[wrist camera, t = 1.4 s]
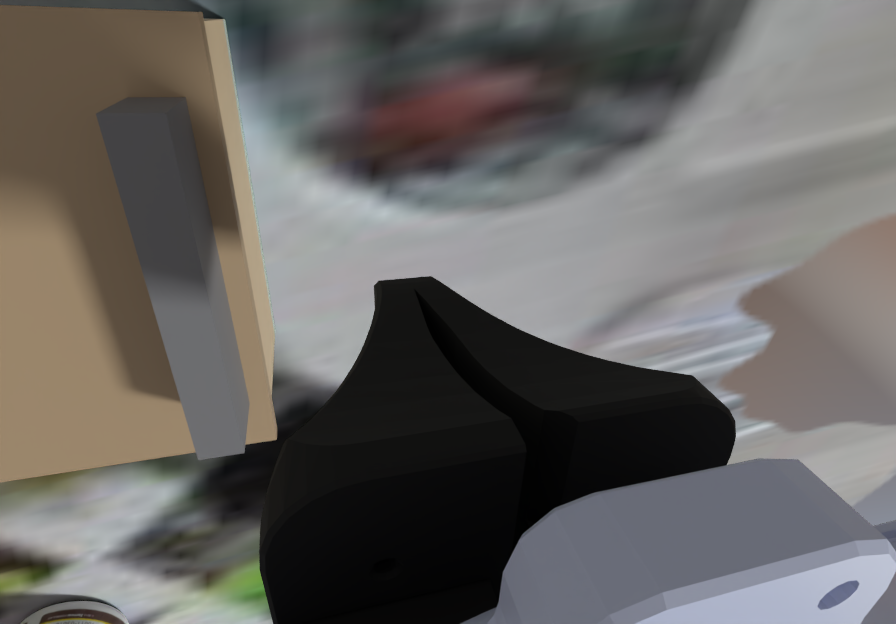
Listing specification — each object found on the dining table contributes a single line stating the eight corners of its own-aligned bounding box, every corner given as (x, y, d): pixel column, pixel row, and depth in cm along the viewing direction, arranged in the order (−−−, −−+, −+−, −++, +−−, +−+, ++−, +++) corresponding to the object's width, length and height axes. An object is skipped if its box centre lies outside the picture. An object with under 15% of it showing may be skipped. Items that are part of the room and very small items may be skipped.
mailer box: (275, 329, 23) (270, 418, 18) (-110, 369, 19) (-249, 493, 14) (224, 18, 17) (196, 21, 12) (-345, 0, 13) (-721, -7, 8)
